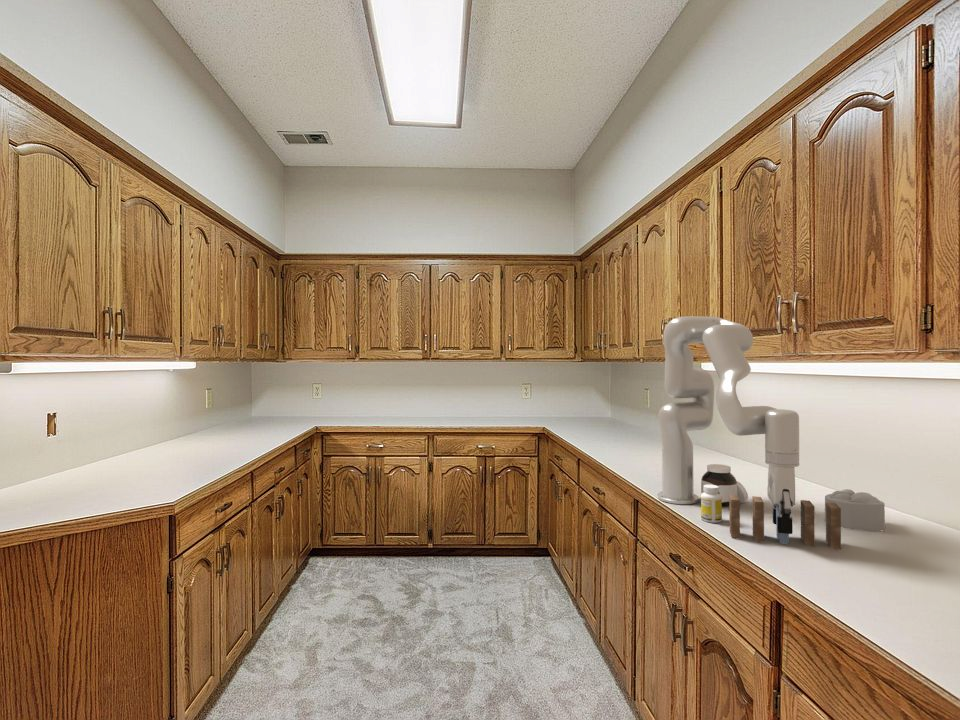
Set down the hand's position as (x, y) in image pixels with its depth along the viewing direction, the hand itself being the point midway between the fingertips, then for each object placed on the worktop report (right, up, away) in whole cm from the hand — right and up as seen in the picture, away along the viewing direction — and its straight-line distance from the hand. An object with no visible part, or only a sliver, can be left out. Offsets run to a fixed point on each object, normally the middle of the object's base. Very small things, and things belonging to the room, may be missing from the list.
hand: (782, 528), depth 132 cm
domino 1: (-10, -3, +4) cm, 11 cm away
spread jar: (+1, -3, +33) cm, 33 cm away
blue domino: (0, -3, 0) cm, 3 cm away
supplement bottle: (-11, -3, +16) cm, 20 cm away
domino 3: (+5, -3, -2) cm, 6 cm away
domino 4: (+10, -3, -4) cm, 11 cm away
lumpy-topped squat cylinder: (+26, -3, +11) cm, 28 cm away
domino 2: (-5, -3, +2) cm, 6 cm away
